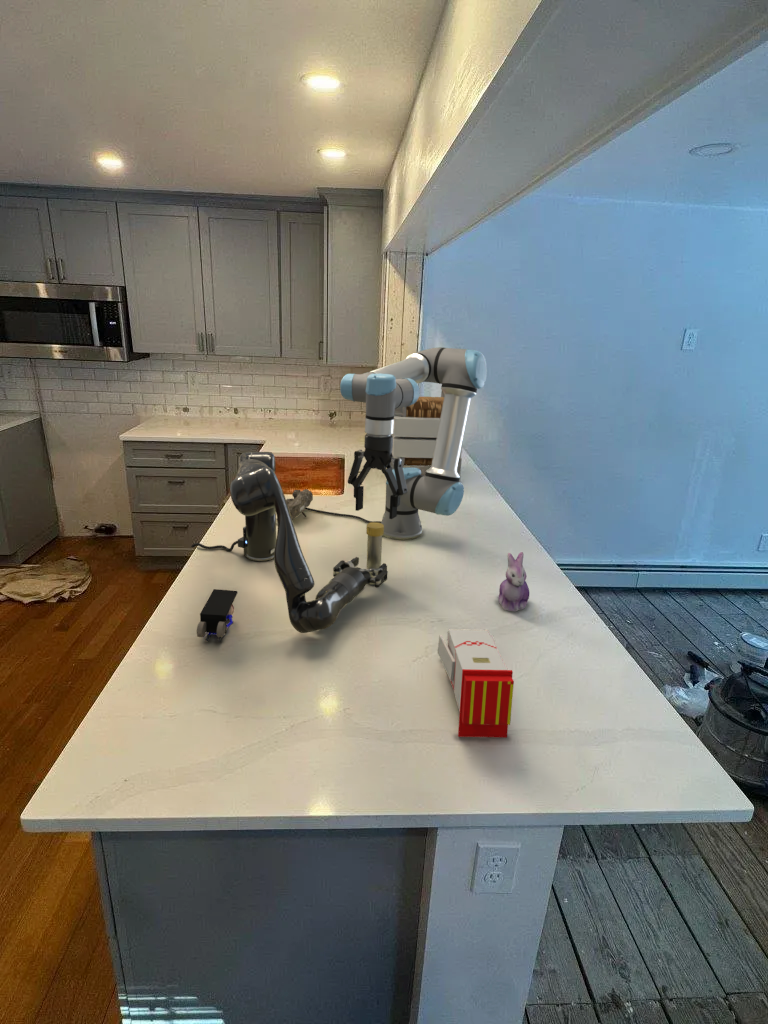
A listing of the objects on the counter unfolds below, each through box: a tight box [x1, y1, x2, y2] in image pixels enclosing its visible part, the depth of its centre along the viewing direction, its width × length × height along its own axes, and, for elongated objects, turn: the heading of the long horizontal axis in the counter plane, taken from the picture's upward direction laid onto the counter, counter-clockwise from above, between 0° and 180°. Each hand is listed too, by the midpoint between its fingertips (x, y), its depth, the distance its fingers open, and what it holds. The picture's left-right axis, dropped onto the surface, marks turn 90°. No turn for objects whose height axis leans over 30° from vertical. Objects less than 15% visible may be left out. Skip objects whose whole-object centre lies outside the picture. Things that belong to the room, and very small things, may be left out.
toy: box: [437, 628, 515, 738], centre depth 117 cm, size 12×13×30 cm
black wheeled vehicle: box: [196, 588, 238, 643], centre depth 135 cm, size 7×8×15 cm
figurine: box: [497, 551, 530, 612], centre depth 152 cm, size 9×10×15 cm
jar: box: [365, 535, 383, 586], centre depth 161 cm, size 4×4×17 cm
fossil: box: [276, 488, 314, 524], centre depth 210 cm, size 22×10×15 cm
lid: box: [365, 522, 384, 537], centre depth 159 cm, size 5×5×2 cm
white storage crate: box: [390, 390, 464, 483], centre depth 268 cm, size 34×33×41 cm
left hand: (371, 563), depth 160 cm, fingers open, 8 cm apart
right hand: (375, 513), depth 157 cm, fingers open, 10 cm apart
